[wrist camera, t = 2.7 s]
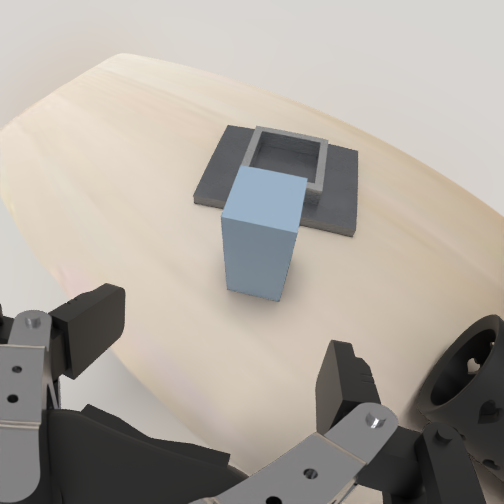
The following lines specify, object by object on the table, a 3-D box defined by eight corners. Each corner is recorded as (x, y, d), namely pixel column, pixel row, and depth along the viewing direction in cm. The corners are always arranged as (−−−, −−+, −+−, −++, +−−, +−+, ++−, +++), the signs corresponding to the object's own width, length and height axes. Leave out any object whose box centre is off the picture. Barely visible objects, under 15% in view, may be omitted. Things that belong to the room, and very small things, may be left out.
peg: (288, 256, 29) (307, 178, 20) (279, 301, 27) (297, 233, 18) (240, 245, 29) (240, 165, 21) (226, 289, 27) (220, 216, 18)
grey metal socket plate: (355, 158, 36) (362, 138, 34) (352, 236, 30) (362, 216, 28) (228, 132, 38) (227, 112, 35) (194, 203, 32) (191, 181, 29)
